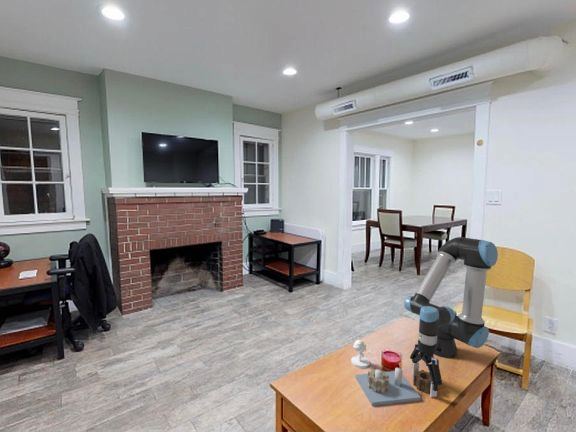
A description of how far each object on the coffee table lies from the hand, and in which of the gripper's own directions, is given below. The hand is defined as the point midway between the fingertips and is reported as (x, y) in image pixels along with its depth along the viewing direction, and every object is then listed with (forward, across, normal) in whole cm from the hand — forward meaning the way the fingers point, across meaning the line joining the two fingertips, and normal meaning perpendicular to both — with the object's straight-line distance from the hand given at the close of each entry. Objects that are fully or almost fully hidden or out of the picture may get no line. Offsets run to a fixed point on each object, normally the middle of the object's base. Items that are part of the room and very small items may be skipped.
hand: (423, 385), depth 134 cm
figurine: (+1, -21, -22) cm, 30 cm away
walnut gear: (0, 0, 0) cm, 0 cm away
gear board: (0, -1, -18) cm, 18 cm away
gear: (-1, -1, -22) cm, 22 cm away
